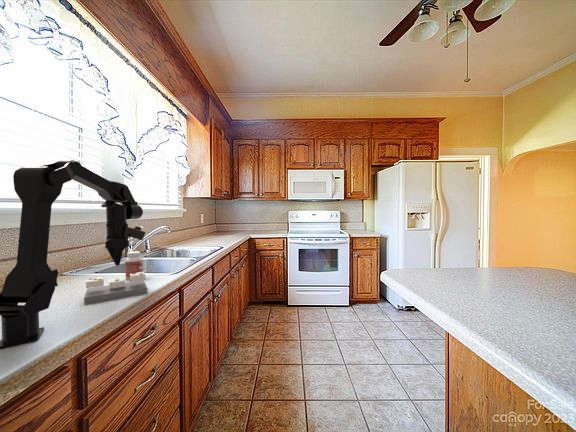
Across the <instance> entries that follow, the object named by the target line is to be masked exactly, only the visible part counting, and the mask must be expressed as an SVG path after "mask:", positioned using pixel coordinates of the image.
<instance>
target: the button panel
mask: <svg viewBox="0 0 576 432" xmlns="http://www.w3.org/2000/svg"><path fill="white" fill-rule="evenodd" d="M86 289H87V290H86V292H85V295H84V297H83V298H84V299H83V300H84V301H83V304H84V305H87V304H93V303H97V302H98V303H99V302H105V301H110V300H115V299H121V298H127V297H133V296H138V295H145V294H144V293H146V294H148V287H147V284H146V282H145V280H140V281H134V282H131V281H129V282H125V286H124V287H118V288H111V289H109V284H108V285H103V286H99V287H92V288H86Z"/></svg>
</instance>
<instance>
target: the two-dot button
mask: <svg viewBox="0 0 576 432" xmlns="http://www.w3.org/2000/svg"><path fill="white" fill-rule="evenodd" d="M142 280H144V281H145V280H146V273H145V271H142V272H138V273H130V281H129V282H135V281H142Z"/></svg>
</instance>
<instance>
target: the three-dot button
mask: <svg viewBox="0 0 576 432" xmlns="http://www.w3.org/2000/svg"><path fill="white" fill-rule="evenodd" d="M85 282H86V283H85V285H86V286H85V288H86V289H87V288H94V287H101V286H105V285H104V284H105V278H104V276H102V277H93V278H92V277H91V278H86V281H85Z"/></svg>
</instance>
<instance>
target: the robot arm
mask: <svg viewBox="0 0 576 432" xmlns="http://www.w3.org/2000/svg"><path fill="white" fill-rule="evenodd" d="M12 179H13V188H14V189H13V190H14V192H15V193H16V195H17V197H18V198H19V200H20V201H21V213H20V214H21V215H20V225H19V234H18V235H19V236H18V246H17V256H16V264H15V266H14V267H13V268H12V270H11V271H10V272H9V273H8V274H7V275H6V277H5V279H4V284H3V287H2V290H1V292H0V318H1V320H0V322H1V339H0V349H4V348H9V347H13V346H14V347H15V346H17V345H22V344H26V343H27V344H28V343H31V342H35V341H38V340H39V339H40V337H41V336H42V335H43V333H44V331H45V327H40V312H43V311H45V310H47V309H49V308H50V306H51V301H52V298H53V296H54V293H55V290H56V287H58V286H59V285H58V275H59V271H58V269H56V268H55V269H53V268H52V269H51V267H50V266H49V264H48V253H49V252H48V251H49V241H50V230H51V229H50V228H51V216H52V206H53V204H54V202H55V201H56V200H57V199H58V198H59V196H60V195H61V194H62V189H63V187H64V184H66V183H68V182H70V181H74V182H78V183H79V184H81V185H83V186H85V187H87V188H90V189H92V190H94V191H96V192H97V194H98V196H99V197H100V198H102V199H103V200H105V202H103V203H102V204H101V205H100V207H101V208H105V209H106V210H105V213H106V214H105V215H106V216H105V217H106V218H105V219H106V222H105V223H106V224H105V225H106V240H105V241H104V244H105V246H104V247H105V249H106V250H107V251H108V253H109V255H110V257H111V259H112V261H113V262H114V265H115V266H120V264H121V261H122V260H121V259H122V256H123V251H124V250H125V249H126V248H128V247H130V241H129V237H130V238H133V239H136V240H139V241H143V240H144V238H145V235H146V231H144V230H142V228H141V226H135V227H134V228H133V227H130V226H129V223H127V221H129V220H138V219H141V218H142V217H143V215H144V210H143V208H142V207H141V206H140V205H138V201H136V200H135V198H134V196H133V194H132V192H131V190H130V188H129V187H128V185H126V184H125V183H122V182H119V181H113V180H109V179H107V178H106V177H103V175H100V174H98V173H96V172H95V171H93V170H91V169H89V168H88V167H86V166H84V165H82V164H81V163H80V161H77V160H75V159H73V160H72V159H71V160H70V159H67V160H62V159H61V160H57V161H53V162H51V163H46V164H42V165H37V166H21V167H19V168H18V169H16V170H15V171H14V173H13V175H12Z"/></svg>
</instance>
